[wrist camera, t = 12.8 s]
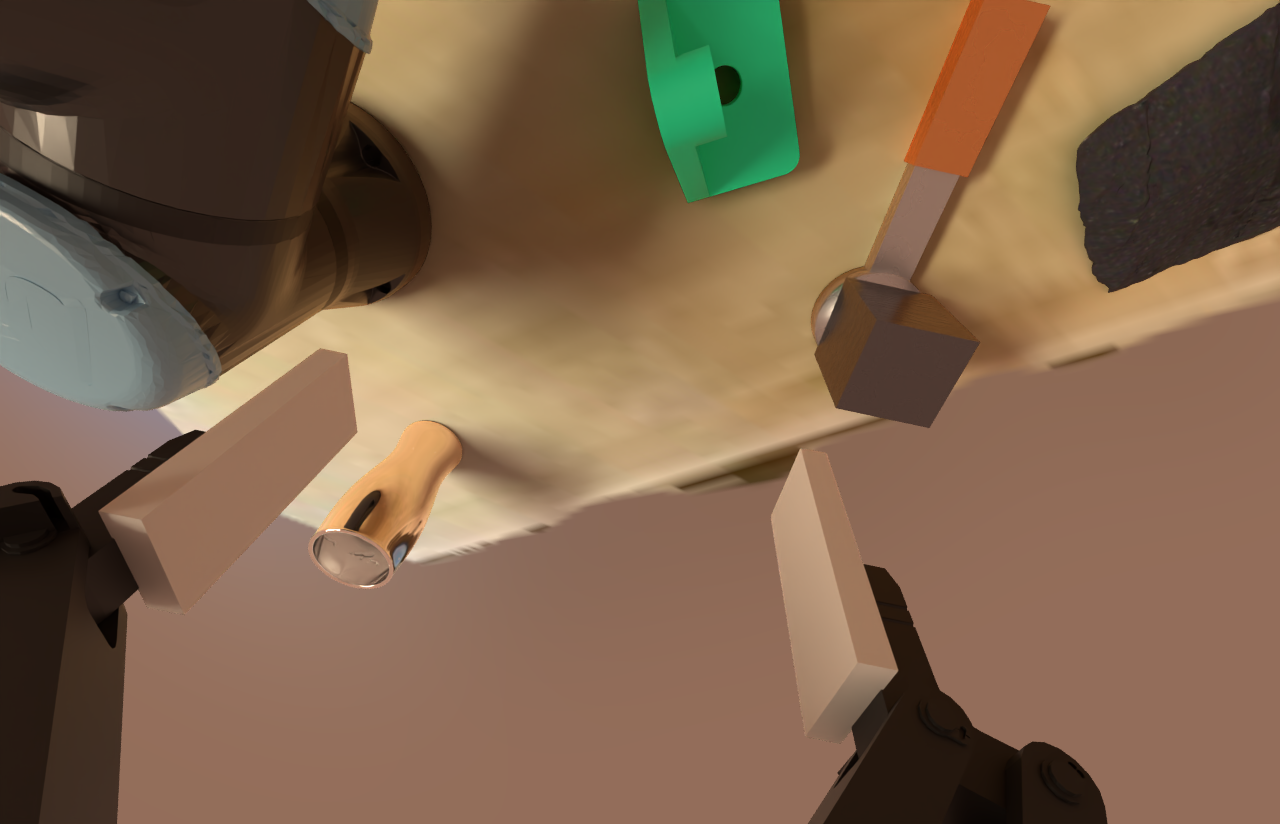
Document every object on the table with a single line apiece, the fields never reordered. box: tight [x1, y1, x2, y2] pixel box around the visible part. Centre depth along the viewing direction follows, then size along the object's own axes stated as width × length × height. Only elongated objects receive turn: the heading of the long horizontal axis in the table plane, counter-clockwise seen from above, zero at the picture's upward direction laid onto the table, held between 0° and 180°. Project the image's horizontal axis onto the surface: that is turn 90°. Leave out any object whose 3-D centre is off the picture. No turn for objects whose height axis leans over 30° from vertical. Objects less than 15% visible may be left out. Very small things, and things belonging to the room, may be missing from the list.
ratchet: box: [811, 0, 1050, 345], centre depth 35 cm, size 24×8×7 cm, turn 169°
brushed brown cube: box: [814, 277, 980, 428], centre depth 37 cm, size 6×6×8 cm
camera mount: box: [638, 0, 800, 203], centre depth 31 cm, size 12×8×10 cm, turn 17°
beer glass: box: [308, 421, 462, 589], centre depth 47 cm, size 7×7×15 cm
